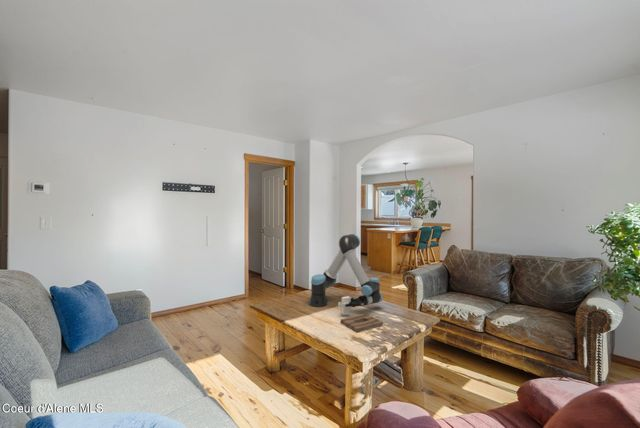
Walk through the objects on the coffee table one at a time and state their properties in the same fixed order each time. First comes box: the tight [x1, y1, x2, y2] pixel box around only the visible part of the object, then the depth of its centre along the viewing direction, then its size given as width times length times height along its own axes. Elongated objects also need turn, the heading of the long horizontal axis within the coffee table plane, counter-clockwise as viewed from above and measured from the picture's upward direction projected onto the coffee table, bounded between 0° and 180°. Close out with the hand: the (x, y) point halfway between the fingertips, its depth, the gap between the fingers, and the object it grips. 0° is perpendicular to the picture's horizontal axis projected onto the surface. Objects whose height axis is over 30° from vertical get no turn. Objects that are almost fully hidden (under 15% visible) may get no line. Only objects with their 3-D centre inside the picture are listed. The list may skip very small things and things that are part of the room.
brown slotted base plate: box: [340, 312, 383, 333], centre depth 197 cm, size 18×22×2 cm
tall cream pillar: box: [340, 295, 352, 316], centre depth 212 cm, size 3×6×12 cm, turn 121°
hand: (339, 305), depth 209 cm, fingers closed on tall cream pillar, 3 cm apart
